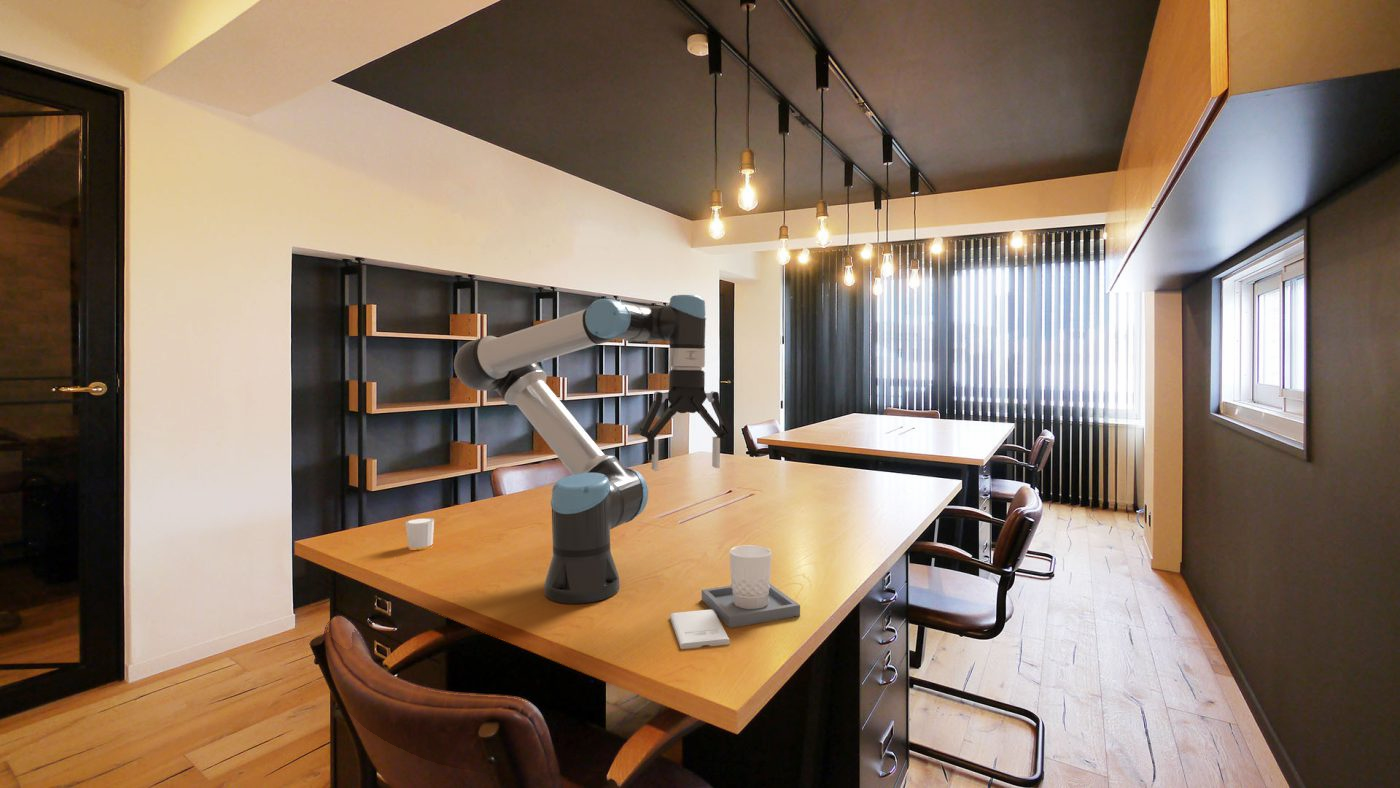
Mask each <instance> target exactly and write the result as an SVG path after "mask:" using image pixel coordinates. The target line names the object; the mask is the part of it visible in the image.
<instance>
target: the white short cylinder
mask: <svg viewBox="0 0 1400 788" xmlns="http://www.w3.org/2000/svg"><path fill="white" fill-rule="evenodd" d="M434 527H435V518H432V517H420V518H413V519H410V520H407V521H405V531H406V536H407V537H406V538H407V544H408V548H409V547H411V548H421V547H427V546H430V545H432V544H433V543H434V530H435V529H434Z"/></svg>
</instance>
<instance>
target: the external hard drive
mask: <svg viewBox="0 0 1400 788" xmlns="http://www.w3.org/2000/svg"><path fill="white" fill-rule="evenodd" d="M669 618H670V619H669V620H670V621H671V625H672V628H673V631H674V633H675V635H676V639H677V641H678V645H679V647H680V650H685V649H696V648H702V647H715V646H716V647H717V646H725V645H727V646H729V645H730V644H731V643H730V638H729V636H728V634H727V632H726V630H725V629H724V626H723V624H722V623H721V621H720V618H719V617H718V616H717V615H716V613H715V612H714V610H711V609H710V608H709V609H702V610H701V609H700V610H690V611H680V612H679V611H678V612H672V613H670V615H669Z"/></svg>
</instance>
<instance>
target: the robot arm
mask: <svg viewBox="0 0 1400 788" xmlns="http://www.w3.org/2000/svg"><path fill="white" fill-rule="evenodd" d="M706 320H707V316H706V301H705V299H704V297H702V296H701V295H695V294H677V295H672V296H671V297H670V298H669V305H663V306H662V305H658V306H657V305H656V306H655V305H654V306H653V305H650V306H649V305H641V304H637V303H632V302H627V301H623V300H622V301H621V300H617V299H616V298H599V299H596V300H594V301H593V302H592V303H591V304H590V305H589V306H588V307H587V308H586V309H582V310H579V311H576V312H574V313H570V314H566V315H564V316H560V317H557V318H555V319H552V320H551V319H550V320H548V321H546V322H542V323H539V324H536V325H533V326H530V327H527V328H523V329H520V330H518V331H514V332H511V333H509V334H504V335H501V336H499V337H497V336H494V335H485V336H483V337H480V338H477V339H473V340H471V341H468V342H466V343H465V344H463V345H462V346H461V347H460V348H459V349H458V350H457V352H456V354H455V356H454V361H453V368H454V373H455V375H456V377H457V379H459V381H460V382H461V383H462V384H463V385H464V386H465V387H467V388H469V389H472V390H474V391H475V390H476V391H481V392H482V391H484V392H485V391H496V393H498V395H499V396H500V397H501V398H502V399H503V401H504V402H505V403H506V404H507V405H509V406H513V405H514V406H517V408H519V410H520V411H521V412H522V413H523V415H524V416H525V417H526V419H527V420H528V421H529V423H530V424H531V425H532V426H533V428H534V429H535V431H536V432H537V433H538V434H539V435H540V437H541V438H542V439H543V440H544V441H545V443H547V445H548V447H549V448H550V449H551V451H552V452H553V453H554V454H555V456H557V458H558V459H559V460H560V461H561V463H562V464H563V465H564V466H565V467H566V469H567V471H569V473H570V474H571V475H567V476H564V477H561V478H560V479H558V480H557V481H556V482H555V483H554V485H553V486H552V489H551V500H550V505H551V525H552V526H551V528H552V558H551V560H550V564H549V567H548V571H547V574H546V577H545V580H544V595H545V597H546V598H547V599H548V598H549V599H548V600H550V601H553V602H556V603H561V604H571V605H573V604H577V605H579V604H587V603H588V604H589V603H594V602H598V601H602V600H605V599H607V598H611V597H612V596H614V595H616V594H617V592H618V591H620V575H619V571H618V570H617V566H616V564H615V560H614V558H613V555H612V551H611V530H613V529H614V528H616V527H619V526H621V525H623V524H626V523H627V524H628V523H629V522H631V521H634V519H635V518H637V517H638V516H639V515H641V514H642V512H644V510H645V508H646V506H647V504H648V501H649V487H648V484H647V481H646V480H645V478H644V476H643V475H642V474H641V473H640V472H639V471H637V470H635V469H634V468H633V469H632V468H629V467H624V466H623V464H622V463H621V462H620V461H619V459H618V458H617V457H616V456H615V455H609V454H607V455H606V454H605V453H604V452H603V451H602V450H601V448H600V447H599V445H598V444H597V443H596V441H594V439H593V438H592V437H591V436H590V435H589V434H588V432H587V431H586V430H585V429H584V427H582V425H581V424H580V423H579V422H578V420H576V418H575V417H574V415H573V414H572V413H571V412H570V410H569V409H568V408H567V407H566V406H565V405H564V403H563V402H562V401H561V400H560V398H559V397H558V396H557V395H556V394H555V392H554V391H553V390H552V389H551V388H550V387H549V385H548V384H547V378H548V376H547V373H546V372H545V367H544V363H545V361H548V360H550V359H554V358H557V357H561V356H564V355H567V354H570V353H573V352H577V351H580V350H584V349H587V348H590V347H593V346H597V345H600V344H604V343H608V342H611V341H615V340H623V341H626V342H627V341H628V342H636V343H638V342H662V341H663V342H669V358H668V359H669V363H668V364H669V365H668V366H669V367H670V368H671V370H670V371H669V373H668V374H669V375H668V376H669V377H668V381H669V382H668V392H667V393H666V392H661V391H654V394H653V400H652V401H653V402H652V404H651V406H650V407H649V410H648V411H647V414H646V416H645V418H644V420H643V422H642V424H641V425H640V428H639V430H638V435H640V436H641V437H642V438H643V437H644V438H646V441H647V442H646V451H647V454H648V455H651V469H652V470H653V471H654V472H656V471H657V472H658V471H659V439H658V438H656V437H657V436H658V435H659V433H660V432H661V431H662V430H663V428H664V427H665V426H666V425H667V423H668V422H669V421H670V420H671V419H672V418H673V416H675V415H676V413H679V414H685V413H690V414H695V413H697V414H699V415H700V417H701V418H702V419H703V420H704V422H705V423H706V424H707V426H708V427H709V428H710V429H711V430H712V431H713V433H714V435H716V436H712V461H711V462H712V463H711V466H712V467H713V468H715V469H720V468H721V467H720V466H721V464H720V463H721V460H720V459H721V456H720V455H721V453H724V451H725V438H726V437H727V436H729V435H732V434H733V432H734V431H733V429H732V427H731V424H730V422H729V420H728V418H727V416H726V413H725V411H724V409H723V406H722V404H721V402H720V393H719V392H718V391H714V390H713V391H710V392H706V390H705V387H706V385H705V384H706V383H705V381H706V380H705V378H706V377H705V376H706V375H705V374H706V372H705V370H703V369H704V368H705V366H706V365H705V363H706V361H705V360H706V358H705V357H706V353H705V352H706V349H705V348H706ZM666 399H667V401H668V402H669V406H668V407H667V408H666V410H665V412H663V414H662V415H661V416H660V418H659V419H658V420H657V421H656V422H655V424H654V425H653V422H654V420H655V418H656V417H657V414H658V413H659V410H660V408H661V406H662V404H664V402H665V400H666ZM706 400H708V402H709V403H710V405H711V407H712V409H713V411H714V413H715V415H716V417H717V421H718V422H719V424H720V426H721V427H720V426H719V425H718V423H717V422H716V421H715V419H714V418H713V417H712V415H710V413H709V411H708V410H707V408H706V407H705V406H704V403H705V401H706ZM652 425H653V426H652ZM651 426H652V427H651Z"/></svg>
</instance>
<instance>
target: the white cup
mask: <svg viewBox="0 0 1400 788" xmlns="http://www.w3.org/2000/svg"><path fill="white" fill-rule="evenodd" d="M729 562H730V563H729V565H730V567H729V568H730V580H731V581H730V582H731V585H732V590H733V591H732V593H733V603H734V604H735V606H737V607H740V608H743V609H760V608H764V607H765V606H767V605H768V601H769V589H770V584H771V571H772V570H771V566H772V563H771V562H772V550H771V549H770V548H768V547H765V546H761V545H754V544H746V545H738V546H737V545H736V546H734V547H732V548H731V549H729ZM731 585H730V586H731Z"/></svg>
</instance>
